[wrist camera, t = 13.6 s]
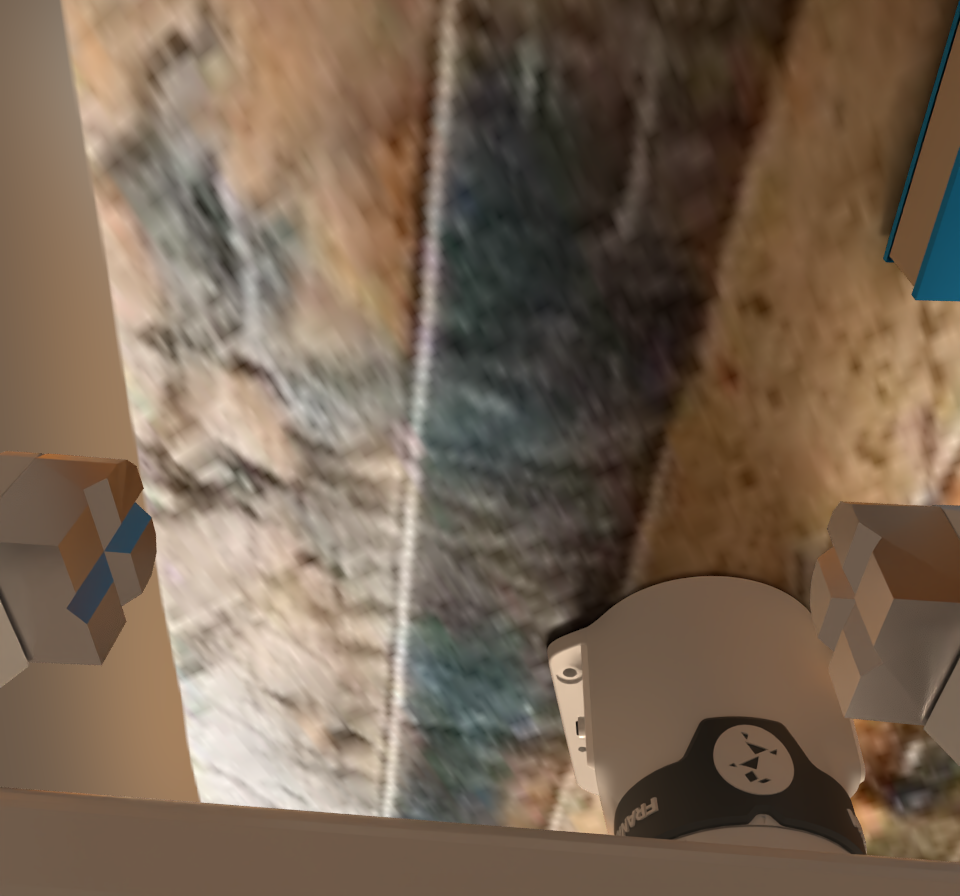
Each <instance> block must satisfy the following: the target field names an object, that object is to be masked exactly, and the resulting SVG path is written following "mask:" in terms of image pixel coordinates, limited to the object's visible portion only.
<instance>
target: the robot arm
mask: <svg viewBox="0 0 960 896" xmlns="http://www.w3.org/2000/svg"><path fill="white" fill-rule="evenodd" d="M143 489H144V488H143V485H142V481H141V478H140V475H139V472H138V469H137V466H136V465H134V464H133V463H131V462H130V461H128V460H123V459H111V458H99V457H86V456H74V455H61V454H49V453H48V454H41V453H30V452H14V451H5V452H2V453H0V688H1V687H2V686H3V685H4V684H6V683H7V682H8V681H10V680H11V679H13V678H14V677H15V676H16V675H18V674H19V673H20V672H22V671H23V670H24V669H26V668H27V667H28V666H29V664H28V662H39V663H61V664H62V663H63V664H85V665H102V664H103V662H104V660H105V659H106V657H107V655H108V653H109V651H110V650H111V648H112V646H113V644H114V643H115V641H116V639H117V637H118V635H119V634H120V632H121V630H122V628H123V627H124V625H125V623H126V619H125V615H124V612H123V609H122V606H123V605H125V604H126V603H128V602H129V601H131V600H132V599H134V598H136V597H137V596H139V595H140V594H142V592H143V591H144V589H145V587H146V585H147V583H148V581H149V579H150V577H151V575H152V571H153V566H154V562H155V557H156V552H157V551H156V532H155V529H154V525H153V521H152V517H151V516H150V515H148V514H147V513H146V512H145V511H144V510H143V509H142V508H141V507H140V506H139V505H138V504H137V503H136V502H135V501H136V500H137V498H138V496H139V495H140V493H141V492H142V490H143ZM827 530H828V532H829V535H830V538H831V540H832V543H833V545H834V546H833V547H832V548H830V549H829V550H828V551H826V552H825V553H824V554H822V555H821V556H820V557H818V558H817V561H816V565H815V568H814V572H813V575H812V579H811V590H810V608H811V613H810V612H809V611H808V610H807V608H806V607H804V606H803V605H802V604H801V603H800V602H799V601H797V600H796V599H795V598H793V597H792V596H790V595H788V594H787V593H785V592H783V591H781V590H779V589H777V588H774V587H772V586H769V585H766V584H763V583H760V582H757V581H752V580H748V579H742V578H736V577H726V576H699V577H689V578H682V579H676V580H671V581H667V582H663V583H660V584H657V585H653V586H651V587H648V588H645V589H643V590H640V591H638V592H636V593H634V594H632V595H630V596H628V597H627V598H625V599H623V600H622V601H620V602H618V603H617V604H616V605H614V606H613V607H612V608H610V609H609V610H608V611H607V612H606V613H604V614H603V615H602V616H601V617H600V618H599V619H598V620H596V621H595V622H594V623H592V624H591V625H589V626H588V627H586V628H583V629H580V630H578V631H575V632H572V633H570V634H567V635H565V636H562V637H560V638H558V639H556V640H555V641H553V642H552V643H551V644H550V645H549V646H548V649H547V655H548V662H549V667H550V672H551V676H552V680H553V685H554V689H555V693H556V697H557V702H558V706H559V710H560V715H561V719H562V723H563V728H564V732H565V736H566V741H567V745H568V749H569V753H570V758H571V762H572V766H573V771H574V775H575V779H576V782H577V784H578V786H579V787H580V788H582V789H584V790H586V791H588V792H590V793H593V794H595V795H598V796H600V801H601V805H602V810H603V814H604V819H605V823H606V827H607V831H608V835H604V834H591V833H578V832H565V831H553V830H540V829H527V828H515V827H502V826H489V825H477V824H464V823H452V822H439V821H426V820H414V819H401V818H388V817H376V816H363V815H351V814H338V813H325V812H313V811H300V810H287V809H275V808H262V807H250V806H237V805H224V804H212V803H199V802H186V801H174V800H161V799H148V798H134V797H122V796H110V795H96V794H84V793H72V792H59V791H47V790H34V789H21V788H9V787H0V896H960V862H947V861H934V860H922V859H909V858H897V857H884V856H871V855H867V854H866V853H867V852H866V851H867V848H866V841H865V838H864V834H863V831H862V828H861V825H860V823H859V821H858V819H857V817H856V815H855V812H854V809H853V806H852V802H851V799H850V798H851V797H852V796H853V795H854V794H855V792H856V791H857V789H858V787H859V784H860V783H861V782H863V781H864V779H865V766H864V761H863V757H862V753H861V749H860V745H859V741H858V737H857V733H856V729H855V725H854V721H853V719H863V720H873V721H884V722H894V723H904V724H915V725H925V727H924V730H925V731H926V732H927V733H928V734H929V735H930V736H931V737H932V738H933V739H934V740H935V741H936V742H937V743H938V744H939V745H940V746H941V747H942V748H943V749H944V751H945V752H946V753H947V754H948V755H949V756H950V757H951V758H952V759H953V760H954V761H955V762H956V763H957V764H958V765H959V766H960V506H954V505H932V506H918V505H899V504H880V503H862V502H843V501H841V502H840V503H839V504H838V506H837V507H836V508H835V510H834V511H833V513H832V516H831V519H830V522H829V525H828V528H827Z"/></svg>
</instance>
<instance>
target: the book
mask: <svg viewBox="0 0 960 896" xmlns="http://www.w3.org/2000/svg"><path fill="white" fill-rule="evenodd" d="M883 259H884V260H885V262H895V263H896V265H897V266H898V267H899V268H900V270H901V271H902V272H903V273H904V275H905V276H906V277H907V278H908V280H909V281H910V282H911V283H912V285H913V286H914V289H913V292H912V296H913V297H914V299H915V300H929V301H960V0H959V2H958V6H957V9H956V12H955V16H954V19H953V23H952V26H951V29H950V33H949V36H948V40H947V43H946V46H945V50H944V53H943V57H942V60H941V63H940V67H939V70H938V74H937V77H936V80H935V84H934V87H933V91H932V94H931V97H930V101H929V104H928V108H927V111H926V114H925V118H924V121H923V125H922V128H921V131H920V135H919V138H918V142H917V145H916V148H915V152H914V155H913V159H912V162H911V165H910V169H909V172H908V176H907V179H906V182H905V186H904V189H903V193H902V196H901V200H900V203H899V206H898V210H897V213H896V217H895V220H894V223H893V227H892V230H891V234H890V237H889V240H888V244H887V247H886V251H885V254H884V257H883Z"/></svg>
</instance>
